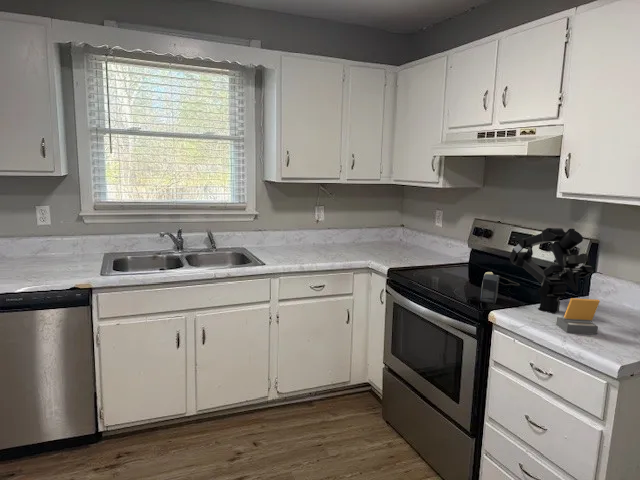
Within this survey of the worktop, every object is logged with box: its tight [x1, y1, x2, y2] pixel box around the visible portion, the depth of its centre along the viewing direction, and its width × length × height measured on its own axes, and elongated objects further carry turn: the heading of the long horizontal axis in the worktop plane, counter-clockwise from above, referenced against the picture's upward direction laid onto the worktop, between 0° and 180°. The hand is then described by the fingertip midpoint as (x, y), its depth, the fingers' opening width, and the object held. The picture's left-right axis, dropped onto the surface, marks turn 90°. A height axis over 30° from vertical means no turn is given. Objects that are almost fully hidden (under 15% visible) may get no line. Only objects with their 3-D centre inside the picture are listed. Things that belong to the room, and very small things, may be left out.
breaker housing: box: [555, 317, 599, 335], centre depth 171 cm, size 8×11×3 cm
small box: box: [480, 273, 500, 305], centre depth 204 cm, size 11×6×10 cm, turn 155°
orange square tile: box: [562, 297, 600, 323], centre depth 169 cm, size 1×10×10 cm, turn 88°
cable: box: [483, 271, 521, 287], centre depth 238 cm, size 16×16×4 cm
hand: (576, 290), depth 178 cm, fingers closed
